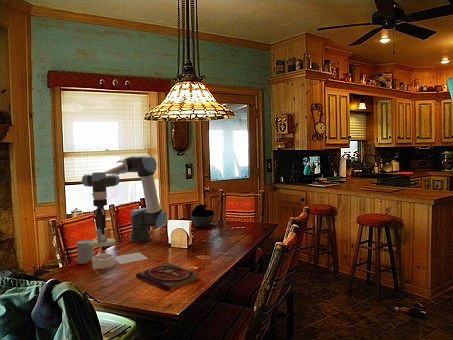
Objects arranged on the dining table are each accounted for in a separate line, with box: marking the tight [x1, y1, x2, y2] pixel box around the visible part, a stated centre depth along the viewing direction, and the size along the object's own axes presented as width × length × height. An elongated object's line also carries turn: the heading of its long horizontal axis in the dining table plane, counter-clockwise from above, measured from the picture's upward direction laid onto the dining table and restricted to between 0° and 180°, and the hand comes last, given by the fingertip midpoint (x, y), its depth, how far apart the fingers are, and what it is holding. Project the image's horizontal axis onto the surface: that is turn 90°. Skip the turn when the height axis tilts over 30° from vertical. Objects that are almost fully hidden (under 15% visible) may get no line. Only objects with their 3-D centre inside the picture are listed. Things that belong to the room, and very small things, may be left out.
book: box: [135, 262, 201, 292], centre depth 192 cm, size 28×21×5 cm
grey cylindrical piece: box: [76, 239, 95, 265], centre depth 226 cm, size 10×10×12 cm
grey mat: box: [115, 251, 149, 265], centre depth 227 cm, size 17×17×1 cm
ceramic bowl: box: [91, 253, 116, 271], centre depth 214 cm, size 12×12×6 cm
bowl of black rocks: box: [190, 204, 216, 228], centre depth 313 cm, size 20×20×19 cm
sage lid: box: [88, 228, 117, 248], centre depth 213 cm, size 15×15×8 cm
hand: (102, 239), depth 213 cm, fingers closed on sage lid, 3 cm apart
